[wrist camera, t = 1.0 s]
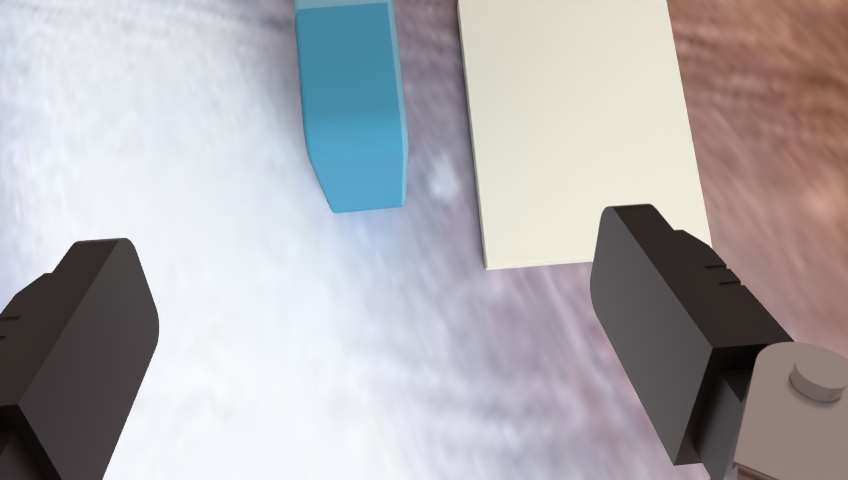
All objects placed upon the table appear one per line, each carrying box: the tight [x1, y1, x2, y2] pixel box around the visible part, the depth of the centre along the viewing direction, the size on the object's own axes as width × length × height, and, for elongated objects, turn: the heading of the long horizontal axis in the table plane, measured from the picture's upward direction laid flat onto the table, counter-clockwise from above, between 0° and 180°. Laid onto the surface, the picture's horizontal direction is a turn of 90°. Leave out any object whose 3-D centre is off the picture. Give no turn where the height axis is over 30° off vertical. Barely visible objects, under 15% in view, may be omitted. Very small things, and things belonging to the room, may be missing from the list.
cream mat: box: [457, 0, 712, 270], centre depth 39 cm, size 14×18×1 cm
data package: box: [293, 0, 409, 213], centre depth 33 cm, size 12×4×12 cm, turn 7°
